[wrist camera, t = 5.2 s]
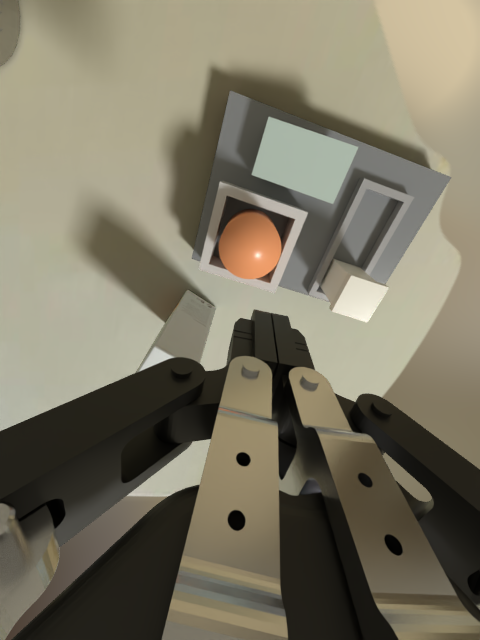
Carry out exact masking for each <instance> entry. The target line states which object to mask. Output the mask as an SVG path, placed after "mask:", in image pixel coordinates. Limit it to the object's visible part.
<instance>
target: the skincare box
mask: <svg viewBox="0 0 480 640" xmlns="http://www.w3.org/2000/svg"><path fill="white" fill-rule="evenodd" d="M215 310H216V307H214V306H213V305H211V304H210V303H208V302H206V301H205V300H203V299H202V298H200V297H198V296H197V295H195V294H194V293H192V292H191V291H189V290H187V291H186V292H185V294H184V295H183V297H182V298H181V300H180V301H179V303H178V304H177V306H176V307H175V309H174V310H173V312H172V314H171V315H170V317H169V318H168V320H167V321H166V323H165V324H164V326H163V328H162V329H161V331H160V333H159V334H158V336H157V338H156V339H155V341H154V343H153V344H152V346H151V348H150V349H149V351H148V353H147V354H146V356H145V358H144V359H143V361H142V363H141V364H140V366H139V368H138V370H137V371H136V373H137V372H139V371H142V370H144V369H146V368H149V367H151V366H153V365H156V364H158V363H160V362H163V361H165V360H167V359H170V358H175V357H185V358H190V359H193V360H195V361H197V362H198V363H200V362H201V359H202V355H203V351H204V348H205V344H206V341H207V337H208V334H209V330H210V327H211V324H212V320H213V317H214V313H215Z"/></svg>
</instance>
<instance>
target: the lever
mask: <svg viewBox="0 0 480 640" xmlns="http://www.w3.org/2000/svg"><path fill="white" fill-rule="evenodd" d="M320 287H321V288H322V290H323V292H324V293H325V295H326V297H327V298H328V300H329V301H330V303H331V305H330V307H329V308H330V309H331V311H332V312H335V313H338V314H342V315H345V316H348V317H351V318H355V319H358V320H361V321H364V322H368V321H369V319H370V318H371V316H372V314H373V313H374V311H375V310H376V308H377V306H378V305H379V303H380V302H381V300H382V299H383V297H384V295H385V294H386V292H387V291H388V289H389V287H388V286H386V285H385V284H382V283H379V282H376V281H375V280H374V279H373V278H372V277H371V276H369V275H368V274H367V273H366V272H365V271H363V270H362V269H361V268H360V267H357V266H354V265H351V264H348V263H345V262H342V261H339V260H336V259H332V261H331V263H330V265H329V268H328V270H327V272H326V274H325V276H324V278H323V280H322V282H321V284H320Z"/></svg>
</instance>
